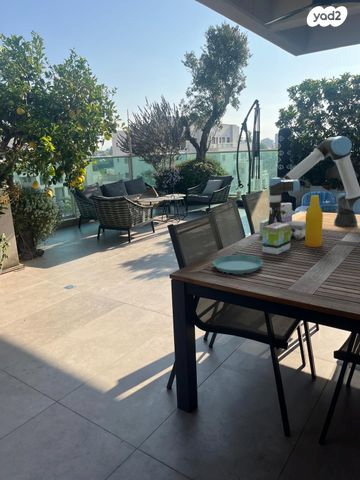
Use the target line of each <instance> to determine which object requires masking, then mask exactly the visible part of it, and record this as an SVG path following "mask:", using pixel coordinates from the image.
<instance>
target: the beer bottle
mask: <svg viewBox="0 0 360 480" xmlns="http://www.w3.org/2000/svg"><path fill="white" fill-rule="evenodd" d="M309 200H310V201H309V206H308V208H307V211H306V213H305V222H306V228H305V236H304V239H305V240H304V245H305V246H307V247H310V248H318V247H322V244H323V218H324V215H323V211H322V208H321V205H320V196H319V195H316V194H315V195H310V199H309Z"/></svg>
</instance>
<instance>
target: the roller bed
mask: <svg viewBox="0 0 360 480" xmlns="http://www.w3.org/2000/svg"><path fill="white" fill-rule="evenodd" d="M305 228H306V227H305ZM305 228H304V229H302V230H299V229H291V238H292V237H293V238H294V239H296V240H301V239H303V238H305Z"/></svg>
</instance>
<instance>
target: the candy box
mask: <svg viewBox="0 0 360 480" xmlns="http://www.w3.org/2000/svg"><path fill="white" fill-rule="evenodd" d="M280 208H281V217H282V222H281V223H284V224H285V223H286V222H289V221H293V203H291V202H281V207H280ZM276 222H277V220H276V217H275V220H274V223H276Z"/></svg>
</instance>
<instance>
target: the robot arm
mask: <svg viewBox="0 0 360 480" xmlns="http://www.w3.org/2000/svg"><path fill="white" fill-rule="evenodd" d="M352 144H353V143H352V140H351V139H350V138H348V137H347V136H343V135H338V136H330V137H328V138H326V139H324V140H323V141H322V142H321V143H319V144H318V145H317V146H316V147H315V148H314V149H313V151H312V152H311V153H310V154H309V155H308V156H306V157H305V158H304V159H303V160H302V161H300V162H299V163H298V164H297V165H295V167H293V168H292V169H291V170H290V171H288V172H287V173H286V174H285V175H284V176H282V177H271V178H269V184H268V190H269V192H268V193H269V196H268V199H269V203H268V204H269V209H271V210H269V215H268V218H269V221H268V225H271V224H274V220H275V217H276V220H277V222H276V223H281V222H282V217H281V208H280V207H281V203H282V193H284V192H285V193H286V192H298V191H299V190H300V188H301V187H300V186H301V183H300V182H301V181H299V178H301V177H302V176H303V175H305V174H306V173H307V172H308V171H310V170H311V169H312V168H313V167H314V166H315V165H317V164H319V162H320V161H323V160H325V159H326V158H327V157H331V160H332V161H333V162H334V163H335V164H336V167H337V169H338V173H339V176H340V179H341V181H342V184H343V187H344V190H345V192H346V193H344V192H343V193H339V194H338V196H337V207H336V208H337V209H336V210H337V211H336V217H335V219H334V221H333V225H334V226H337V227H343V228H344V227H345V228H346V227H348V228H350V227H352V228H353V227H357V226H358V220H357V217H356V215H360V185H359V182H358V179H357V176H356V173H355V169H354V166H353V162H352V160H351V155H352V152H351V150H352V148H353V145H352ZM356 225H357V226H356Z"/></svg>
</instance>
